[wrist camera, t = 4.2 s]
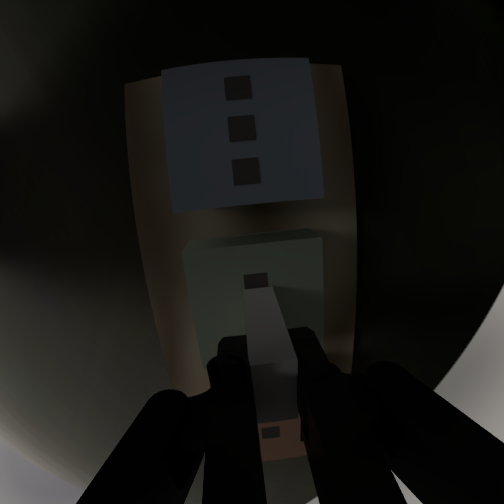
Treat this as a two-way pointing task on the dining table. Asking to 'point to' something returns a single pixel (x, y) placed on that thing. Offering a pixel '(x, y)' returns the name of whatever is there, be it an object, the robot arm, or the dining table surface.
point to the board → (241, 225)
